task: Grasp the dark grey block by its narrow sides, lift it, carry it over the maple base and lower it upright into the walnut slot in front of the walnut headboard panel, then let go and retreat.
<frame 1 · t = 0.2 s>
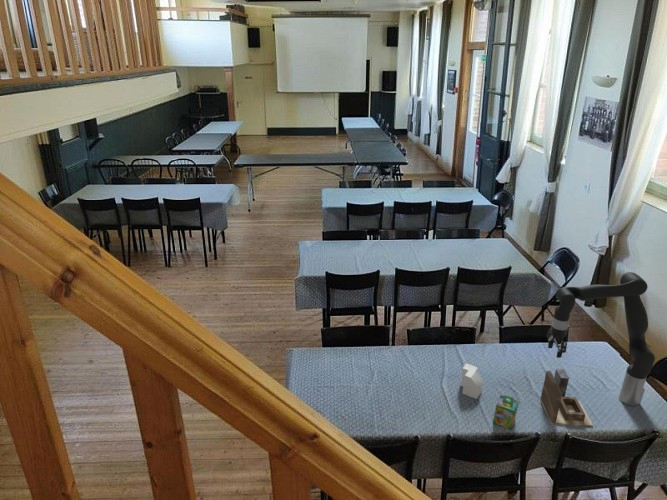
hand: (554, 352, 251), 28 cm above the table, tool pointing down, fingers open, 8 cm apart
post socket: (563, 412, 250), on the table
dark grey block: (558, 391, 265), on the table
white stepped block: (470, 390, 267), on the table
chalk box: (504, 421, 244), on the table
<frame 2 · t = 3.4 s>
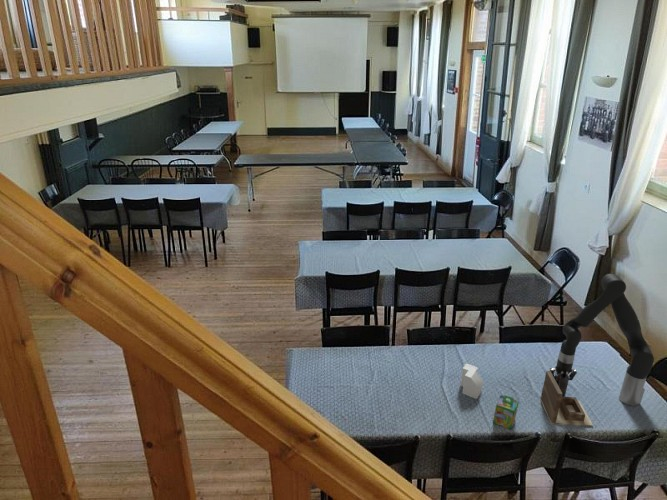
hand: (559, 385, 264), 4 cm above the table, tool pointing down, fingers closed on dark grey block, 4 cm apart
dark grey block: (558, 391, 265), on the table, touching gripper
everything else where it was.
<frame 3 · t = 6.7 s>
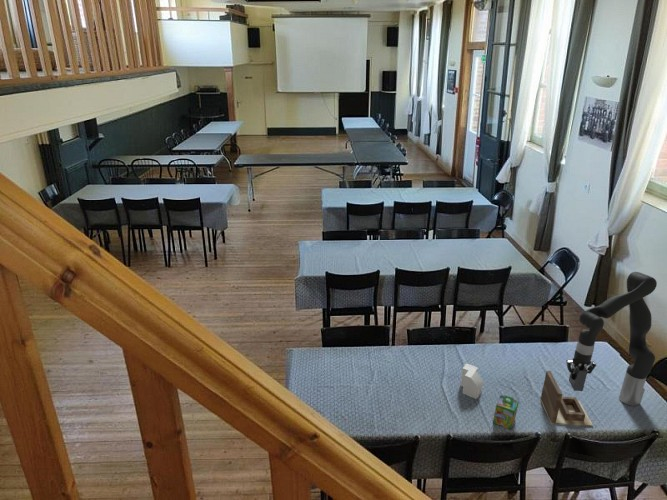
hand: (577, 378, 242), 21 cm above the table, tool pointing down, fingers closed on dark grey block, 4 cm apart
dark grey block: (575, 385, 244), point 17 cm above the table, touching gripper
everything else where it was.
when the fingers open (7 cm above the table, at t = 10.3 s): dark grey block drops 1 cm, resting on post socket.
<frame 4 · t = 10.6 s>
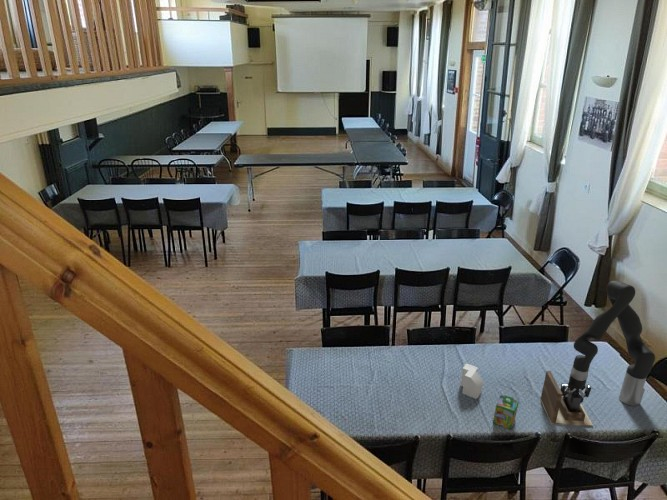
hand: (572, 401, 247), 7 cm above the table, tool pointing down, fingers open, 6 cm apart
dark grey block: (570, 411, 249), point 1 cm above the table, touching post socket
everything else where it was.
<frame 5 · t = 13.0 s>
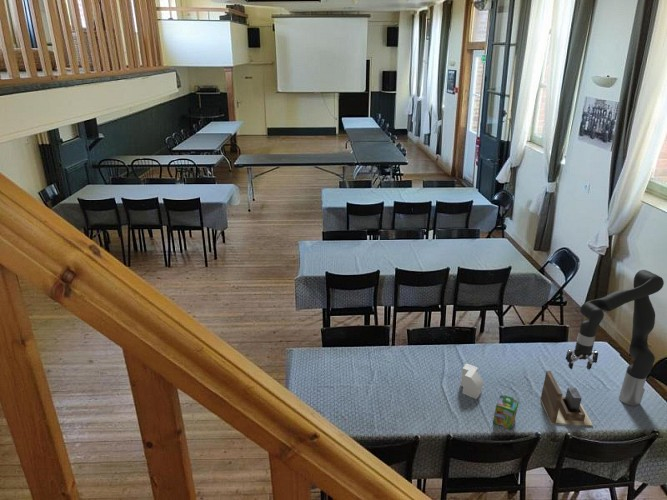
hand: (579, 368, 244), 25 cm above the table, tool pointing down, fingers open, 8 cm apart
nothing on the table moved.
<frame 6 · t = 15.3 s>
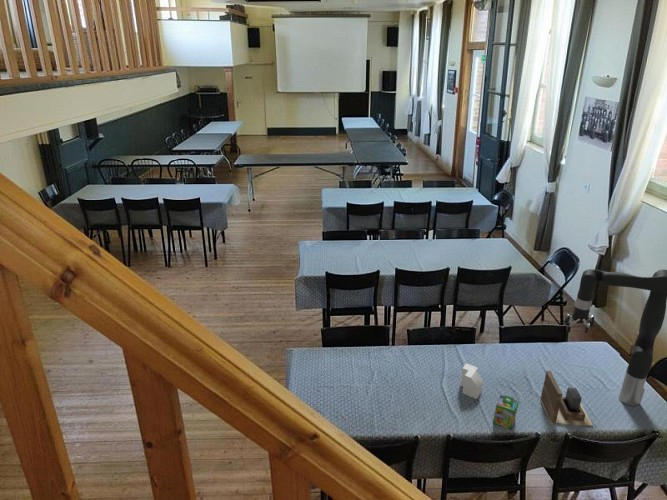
hand: (576, 332, 261), 32 cm above the table, tool pointing down, fingers open, 8 cm apart
nothing on the table moved.
at the end: dark grey block 0.1 cm from the target spot on the post socket, point 1.0 cm above the post socket's base; dark grey block tilted 0°; the gripper is holding nothing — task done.
